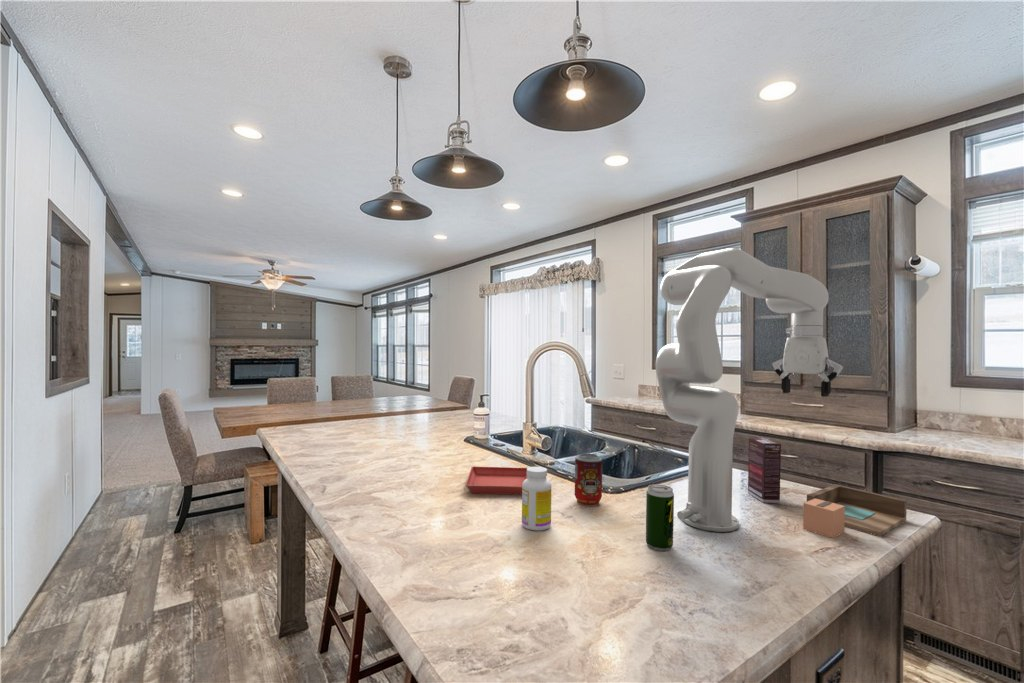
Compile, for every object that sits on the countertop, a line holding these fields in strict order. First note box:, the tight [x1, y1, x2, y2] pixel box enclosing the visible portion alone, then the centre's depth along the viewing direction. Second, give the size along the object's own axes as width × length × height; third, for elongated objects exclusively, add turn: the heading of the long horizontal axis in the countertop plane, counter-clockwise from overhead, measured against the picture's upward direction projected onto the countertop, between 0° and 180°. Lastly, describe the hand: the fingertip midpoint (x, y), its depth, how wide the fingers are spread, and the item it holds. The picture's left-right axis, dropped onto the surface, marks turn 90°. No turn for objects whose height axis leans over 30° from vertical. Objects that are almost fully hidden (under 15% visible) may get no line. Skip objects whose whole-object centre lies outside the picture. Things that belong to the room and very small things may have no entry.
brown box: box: [802, 498, 845, 539], centre depth 105 cm, size 6×6×6 cm
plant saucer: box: [465, 466, 528, 495], centre depth 134 cm, size 18×18×3 cm
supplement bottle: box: [521, 466, 552, 532], centre depth 105 cm, size 7×7×13 cm
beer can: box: [645, 483, 675, 552], centre depth 95 cm, size 5×5×12 cm
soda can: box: [574, 452, 603, 507], centre depth 121 cm, size 7×7×12 cm
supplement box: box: [747, 436, 782, 504], centre depth 127 cm, size 9×5×16 cm, turn 179°
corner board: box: [806, 483, 908, 537], centre depth 113 cm, size 17×15×5 cm
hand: (805, 394), depth 128 cm, fingers open, 9 cm apart
